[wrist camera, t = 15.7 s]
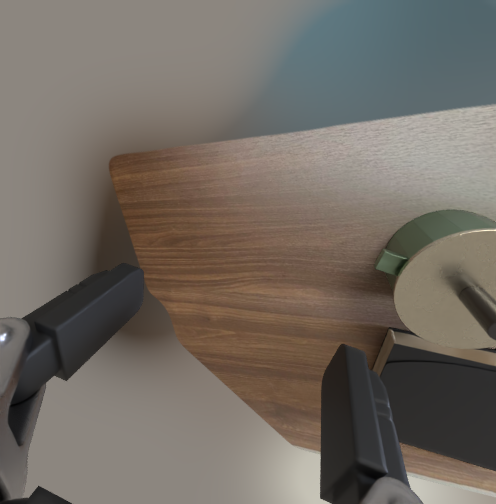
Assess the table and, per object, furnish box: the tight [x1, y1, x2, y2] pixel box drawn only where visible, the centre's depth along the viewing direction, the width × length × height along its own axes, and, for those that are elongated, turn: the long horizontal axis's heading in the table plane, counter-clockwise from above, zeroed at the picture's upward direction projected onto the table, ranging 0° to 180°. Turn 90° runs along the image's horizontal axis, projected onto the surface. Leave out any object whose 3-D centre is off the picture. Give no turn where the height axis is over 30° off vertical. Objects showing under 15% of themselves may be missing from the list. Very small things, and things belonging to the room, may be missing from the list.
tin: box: [374, 210, 496, 290], centre depth 31 cm, size 14×19×8 cm
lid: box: [393, 228, 496, 349], centre depth 25 cm, size 15×15×7 cm
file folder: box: [372, 327, 496, 471], centre depth 41 cm, size 33×4×24 cm
